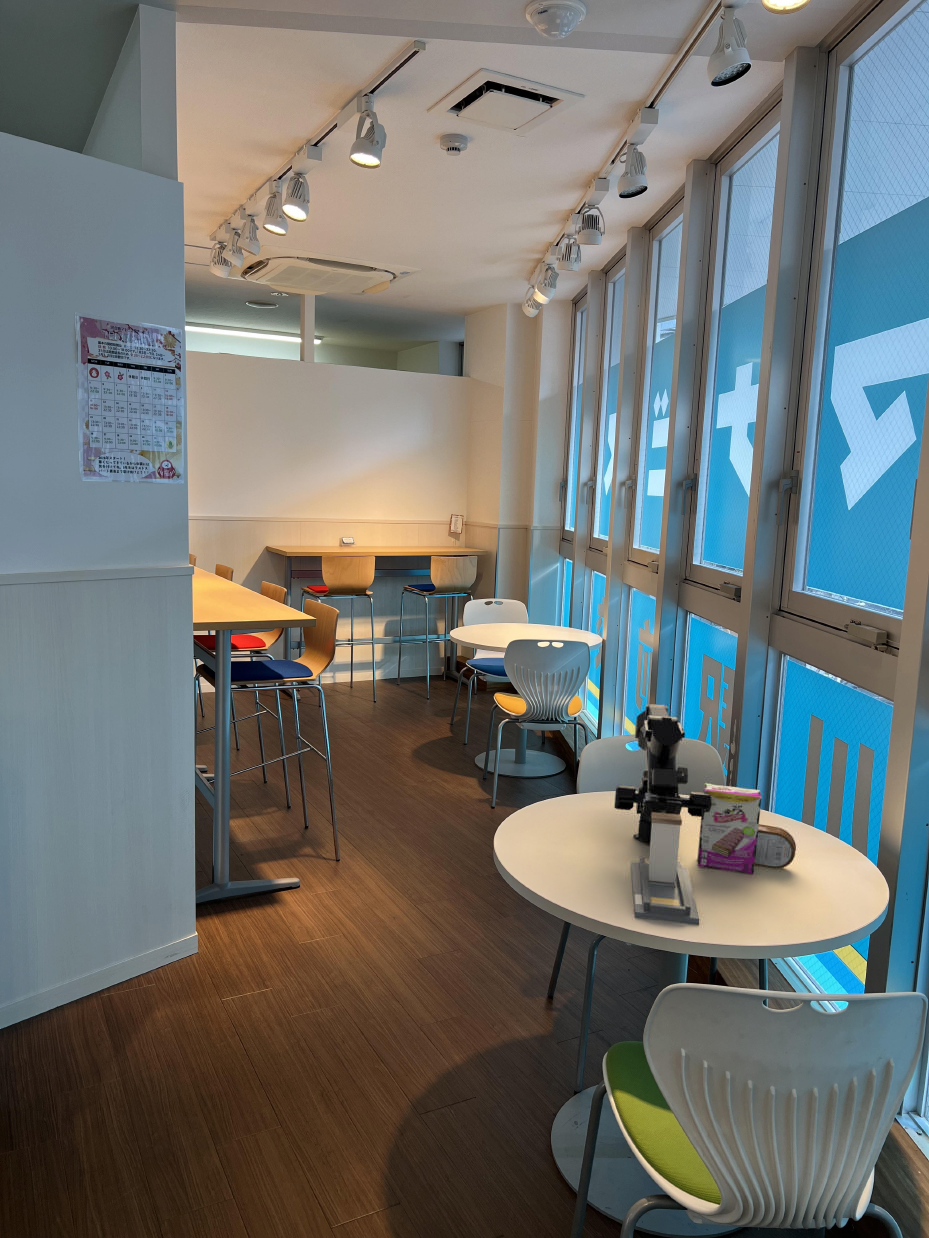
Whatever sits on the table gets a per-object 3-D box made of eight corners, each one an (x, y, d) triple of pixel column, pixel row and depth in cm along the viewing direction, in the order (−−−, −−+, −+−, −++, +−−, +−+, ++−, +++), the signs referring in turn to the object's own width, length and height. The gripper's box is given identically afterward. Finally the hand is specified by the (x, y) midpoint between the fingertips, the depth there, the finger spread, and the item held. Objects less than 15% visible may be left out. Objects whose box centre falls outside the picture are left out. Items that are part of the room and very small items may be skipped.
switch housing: (630, 866, 172) (631, 854, 172) (686, 872, 170) (687, 860, 170) (635, 917, 150) (635, 903, 150) (699, 924, 149) (700, 910, 148)
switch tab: (647, 874, 165) (651, 812, 163) (675, 877, 164) (680, 814, 163) (647, 880, 162) (652, 817, 160) (676, 883, 161) (681, 820, 160)
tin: (794, 867, 175) (797, 828, 173) (793, 873, 172) (797, 834, 170) (717, 854, 180) (720, 816, 178) (716, 860, 177) (719, 822, 175)
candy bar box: (697, 867, 173) (703, 789, 171) (697, 858, 178) (703, 782, 175) (755, 876, 170) (762, 796, 168) (753, 866, 175) (760, 788, 173)
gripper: (618, 746, 172) (616, 818, 163) (714, 754, 169) (717, 827, 160) (615, 773, 181) (613, 842, 171) (706, 780, 178) (708, 851, 168)
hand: (662, 840), depth 167 cm, fingers closed
